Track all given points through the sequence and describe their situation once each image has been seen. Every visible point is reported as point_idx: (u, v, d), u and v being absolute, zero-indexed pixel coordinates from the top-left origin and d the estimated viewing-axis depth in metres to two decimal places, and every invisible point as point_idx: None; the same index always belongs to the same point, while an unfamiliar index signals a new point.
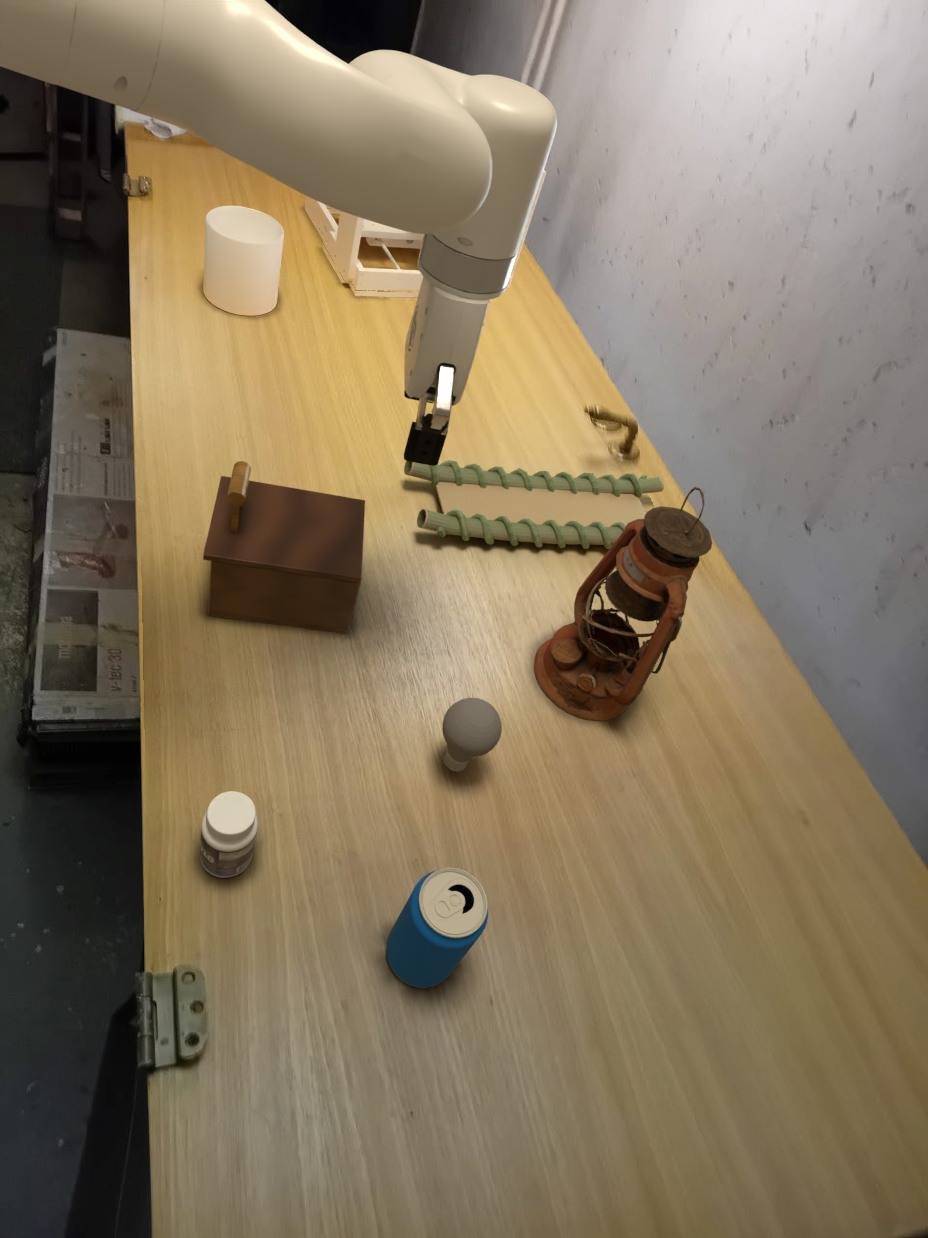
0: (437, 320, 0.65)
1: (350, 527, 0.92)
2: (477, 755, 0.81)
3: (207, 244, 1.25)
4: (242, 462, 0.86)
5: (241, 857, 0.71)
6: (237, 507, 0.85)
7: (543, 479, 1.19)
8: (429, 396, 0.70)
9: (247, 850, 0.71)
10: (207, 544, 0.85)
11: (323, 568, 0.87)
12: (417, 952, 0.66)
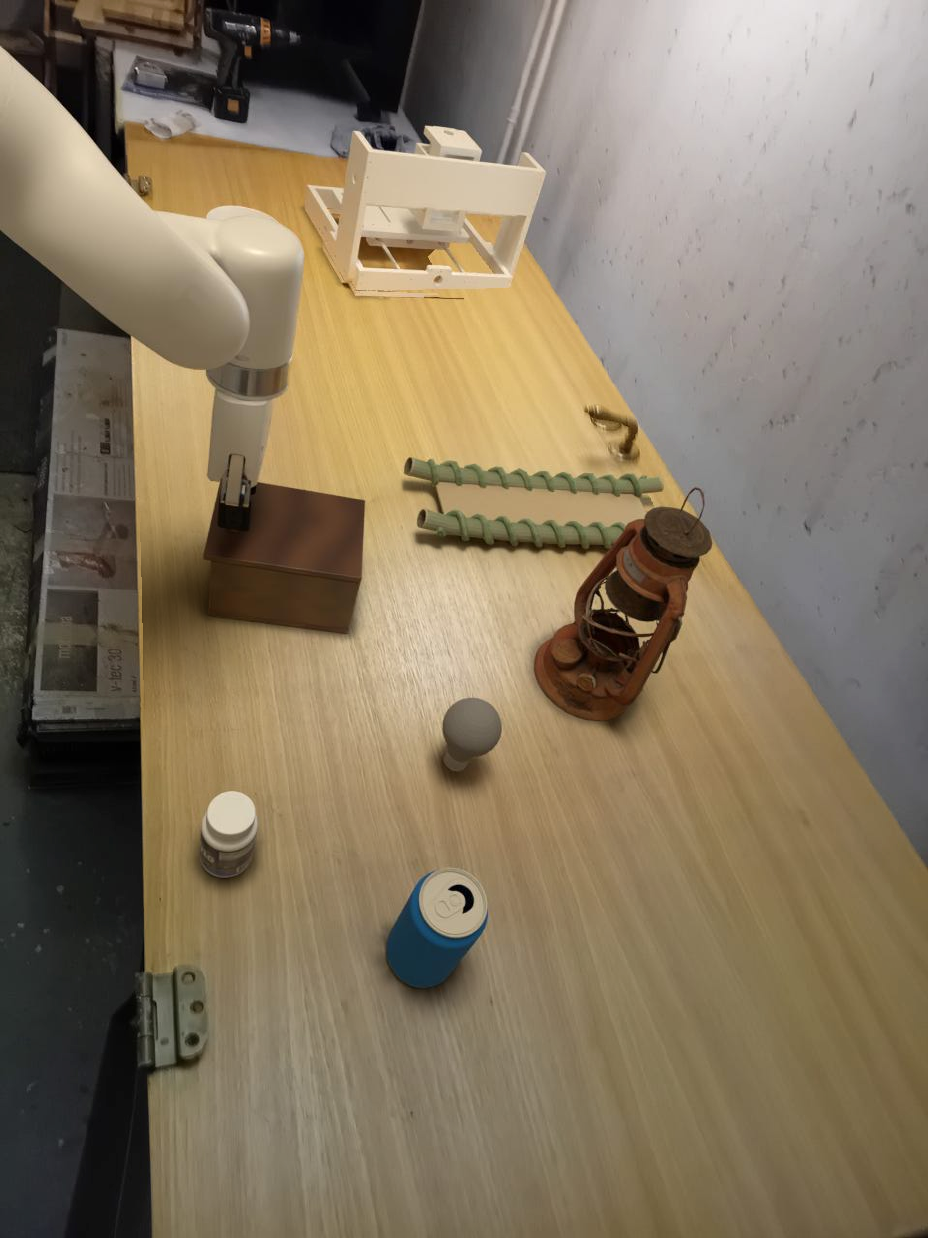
0: (220, 419, 0.74)
1: (350, 527, 0.92)
2: (477, 755, 0.81)
3: None
4: None
5: (241, 857, 0.71)
6: None
7: (543, 479, 1.19)
8: None
9: (247, 850, 0.71)
10: (207, 544, 0.85)
11: (323, 568, 0.87)
12: (417, 952, 0.66)
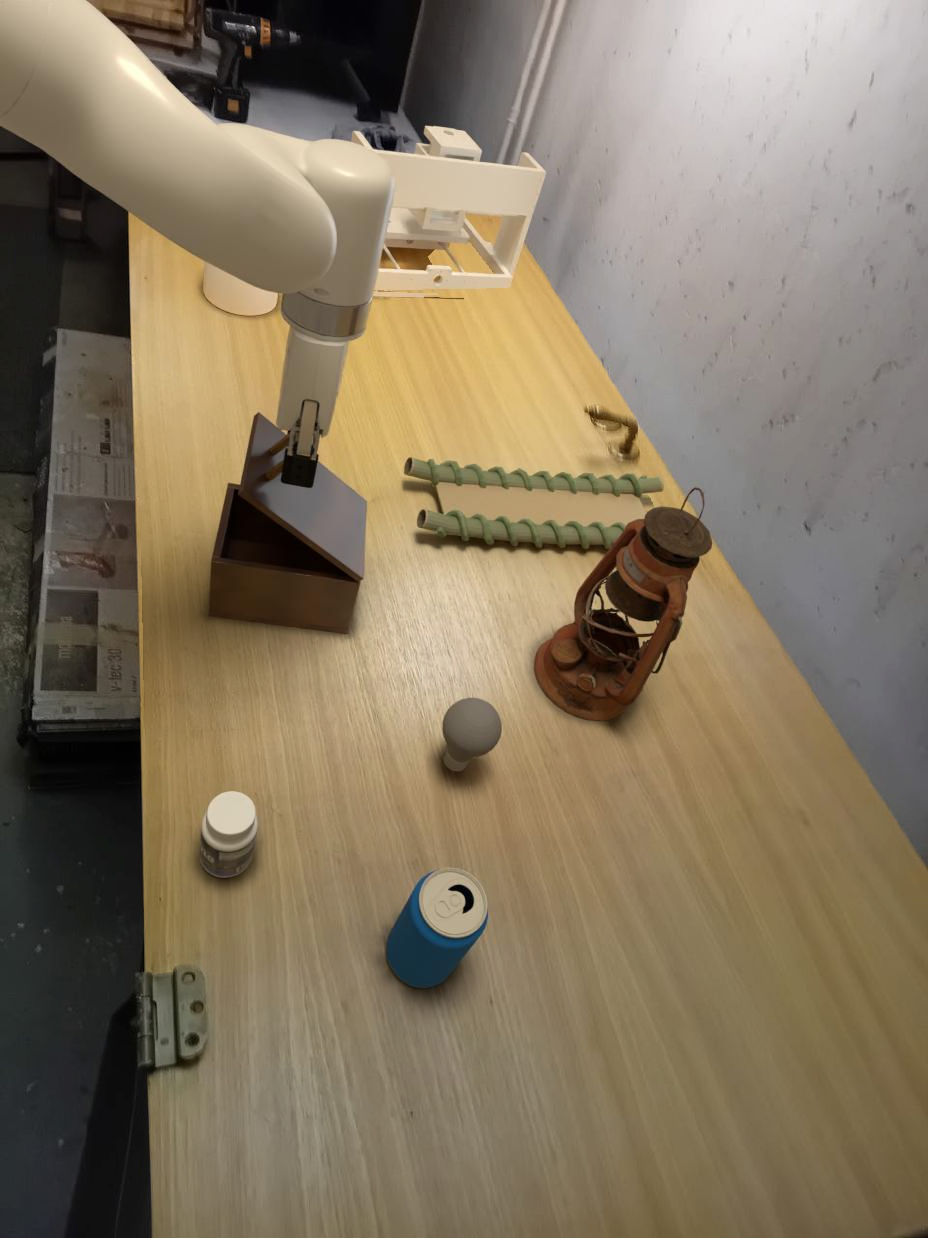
0: (297, 360, 0.70)
1: (356, 522, 0.92)
2: (477, 755, 0.81)
3: None
4: None
5: (241, 857, 0.71)
6: None
7: (543, 479, 1.19)
8: (298, 429, 0.76)
9: (247, 850, 0.71)
10: (246, 480, 0.79)
11: (336, 554, 0.86)
12: (417, 952, 0.66)
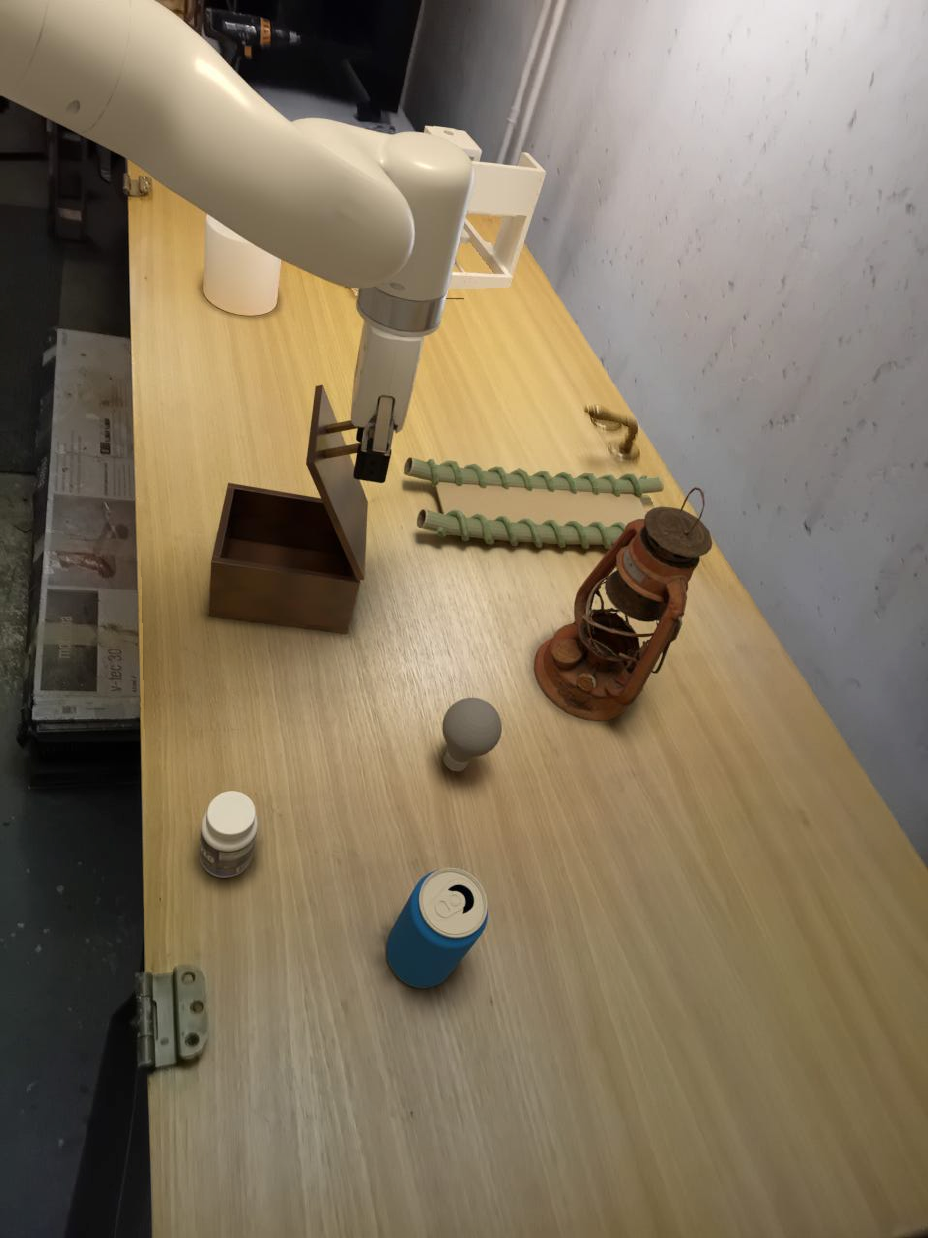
0: (374, 357, 0.69)
1: (362, 521, 0.92)
2: (477, 755, 0.81)
3: (207, 244, 1.25)
4: None
5: (241, 857, 0.71)
6: None
7: (543, 479, 1.19)
8: (372, 425, 0.76)
9: (247, 850, 0.71)
10: (315, 453, 0.77)
11: (353, 549, 0.85)
12: (417, 952, 0.66)
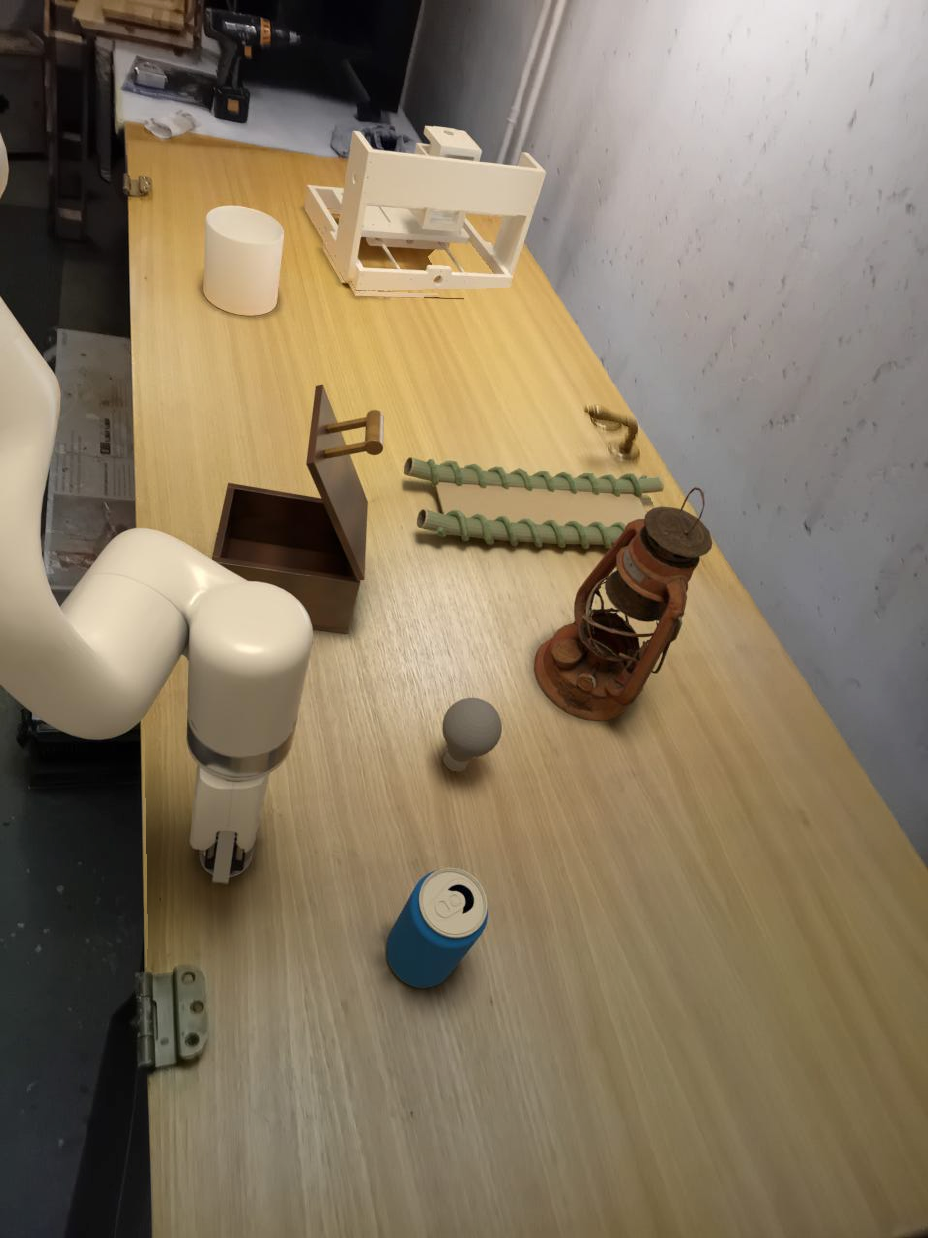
0: (205, 803, 0.58)
1: (362, 521, 0.92)
2: (477, 755, 0.81)
3: (207, 244, 1.25)
4: (383, 416, 0.82)
5: None
6: (361, 450, 0.80)
7: (543, 479, 1.19)
8: (218, 837, 0.65)
9: None
10: (315, 453, 0.77)
11: (353, 549, 0.85)
12: (417, 952, 0.66)
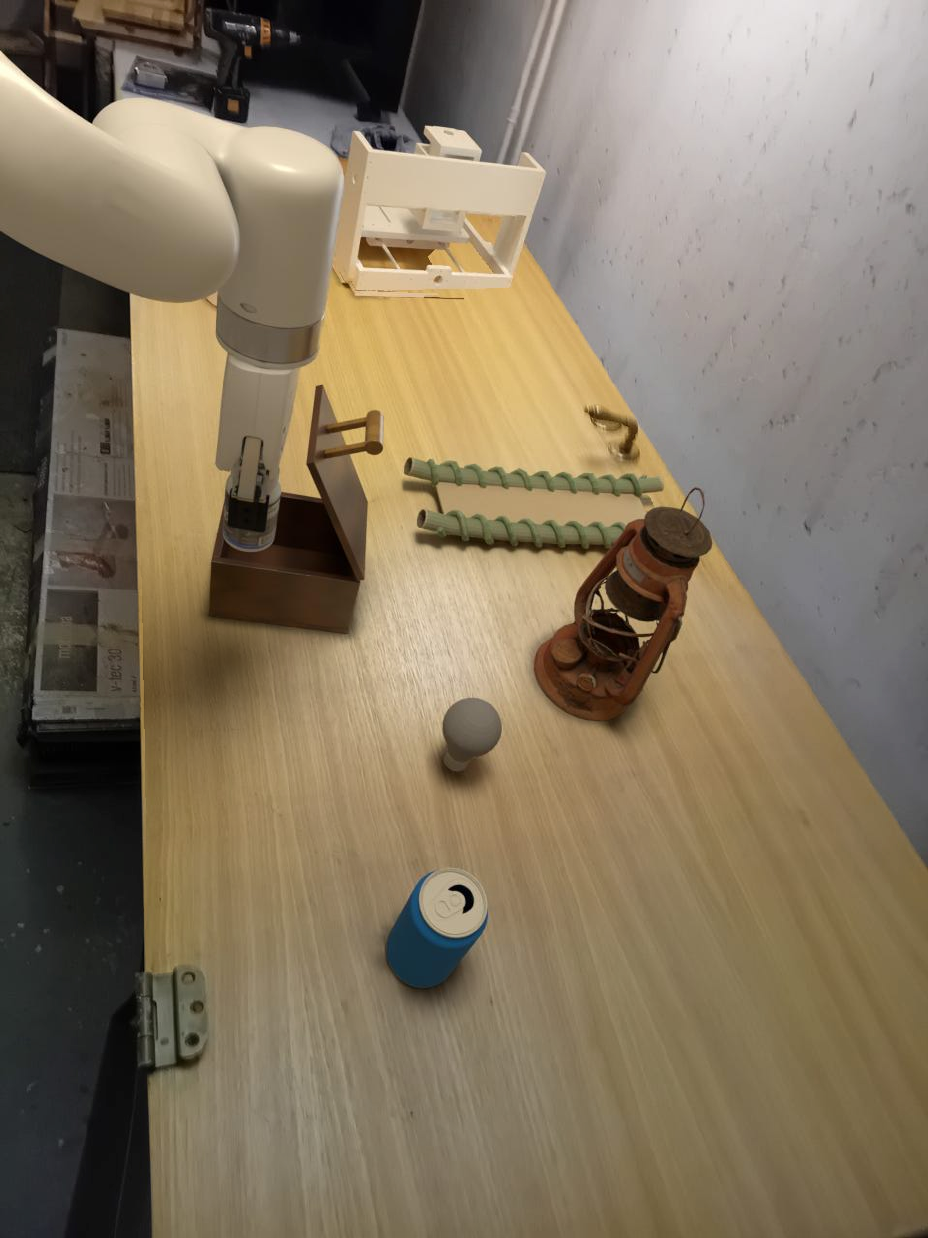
0: (233, 392, 0.59)
1: (362, 521, 0.92)
2: (477, 755, 0.81)
3: None
4: (383, 416, 0.82)
5: None
6: (361, 450, 0.80)
7: (543, 479, 1.19)
8: None
9: (270, 514, 0.71)
10: (315, 453, 0.77)
11: (353, 549, 0.85)
12: (417, 952, 0.66)
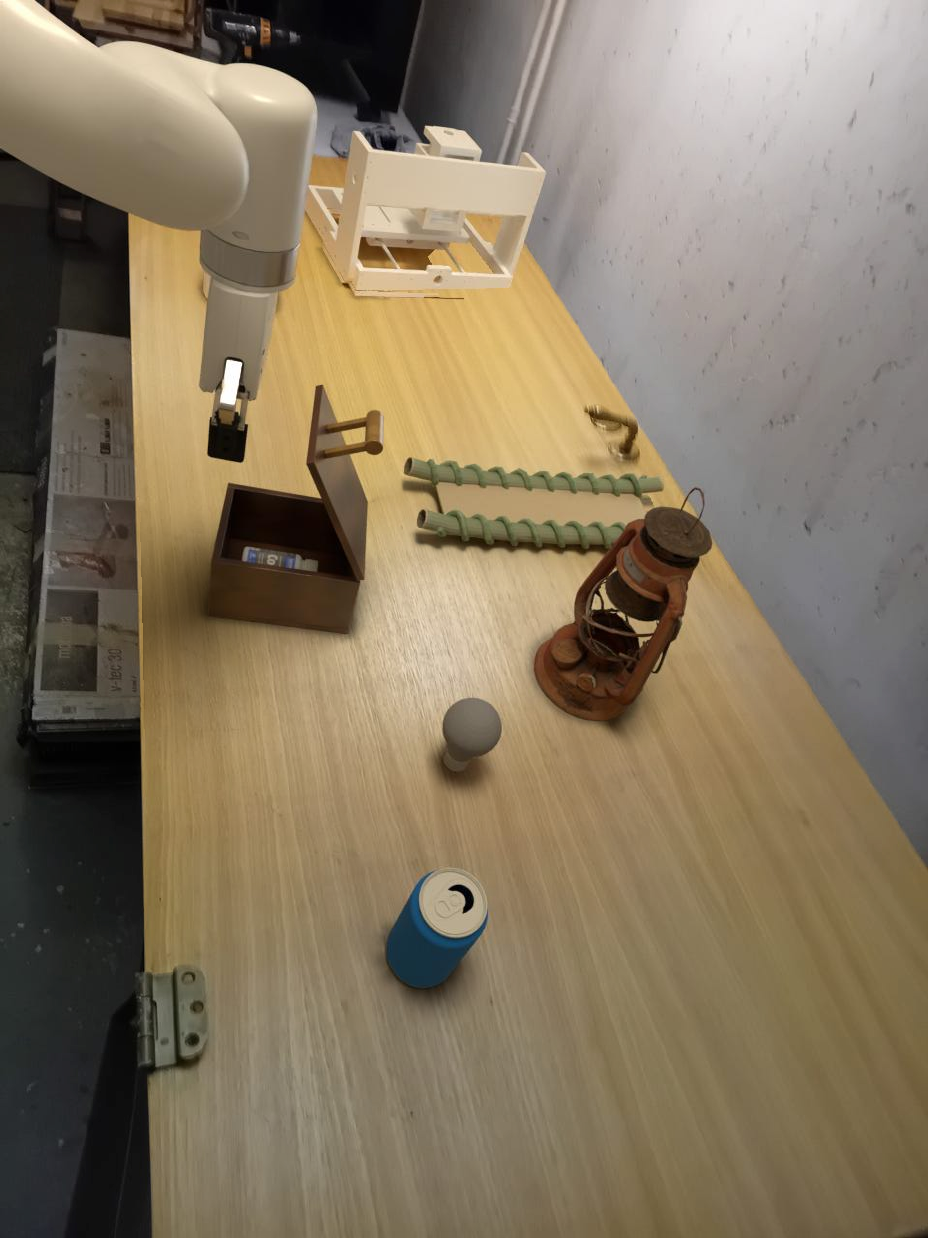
0: (216, 313, 0.64)
1: (362, 521, 0.92)
2: (477, 755, 0.81)
3: None
4: (383, 416, 0.82)
5: None
6: (361, 450, 0.80)
7: (543, 479, 1.19)
8: None
9: None
10: (315, 453, 0.77)
11: (353, 549, 0.85)
12: (417, 952, 0.66)
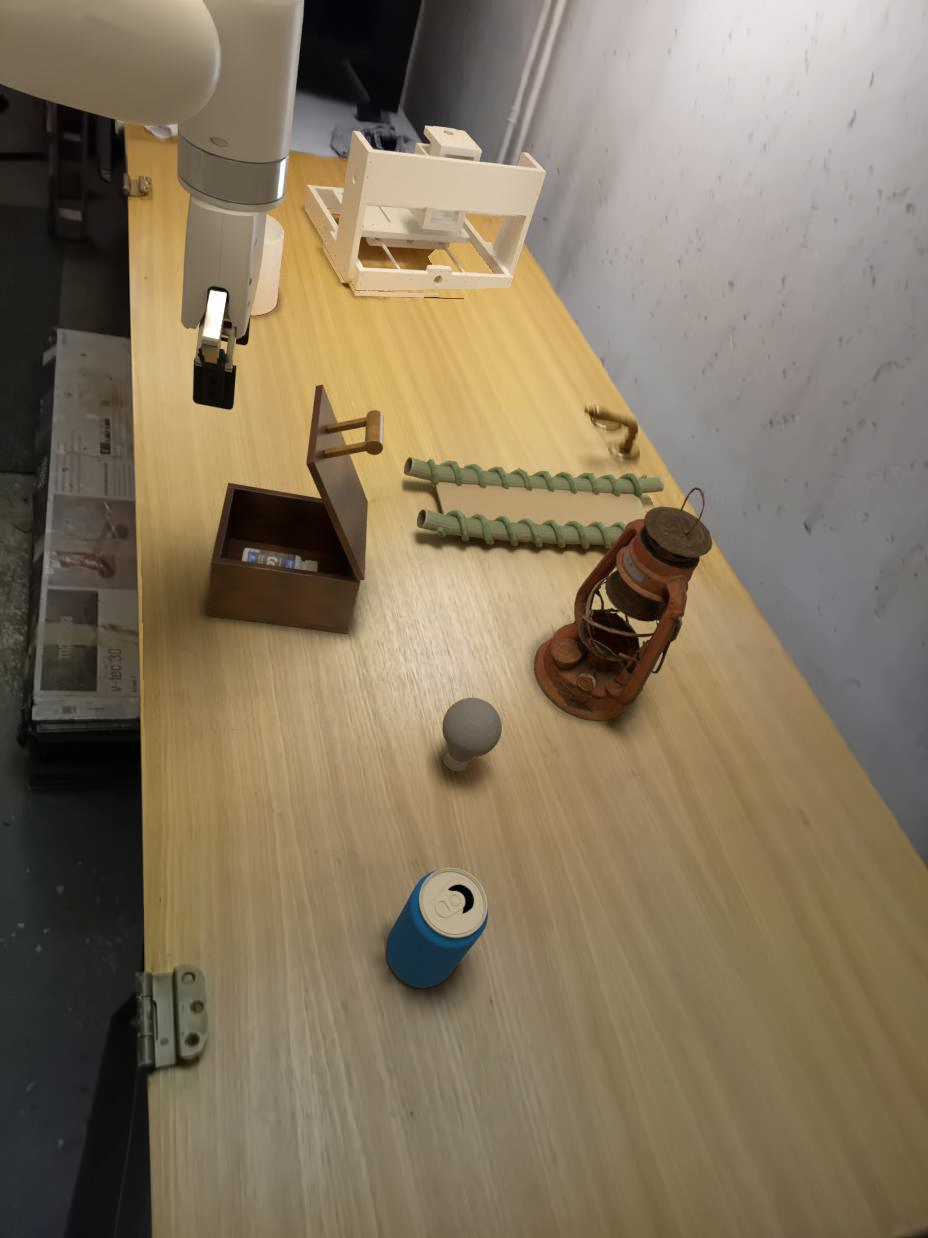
0: (196, 235, 0.57)
1: (362, 521, 0.92)
2: (477, 755, 0.81)
3: None
4: (383, 416, 0.82)
5: None
6: (361, 450, 0.80)
7: (543, 479, 1.19)
8: None
9: None
10: (315, 453, 0.77)
11: (353, 549, 0.85)
12: (417, 952, 0.66)
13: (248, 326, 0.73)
